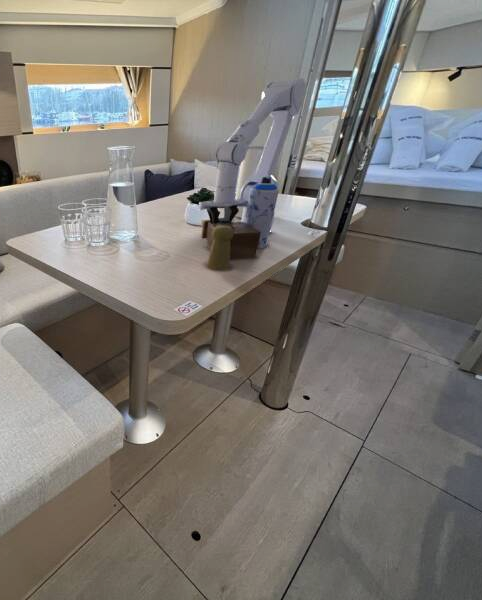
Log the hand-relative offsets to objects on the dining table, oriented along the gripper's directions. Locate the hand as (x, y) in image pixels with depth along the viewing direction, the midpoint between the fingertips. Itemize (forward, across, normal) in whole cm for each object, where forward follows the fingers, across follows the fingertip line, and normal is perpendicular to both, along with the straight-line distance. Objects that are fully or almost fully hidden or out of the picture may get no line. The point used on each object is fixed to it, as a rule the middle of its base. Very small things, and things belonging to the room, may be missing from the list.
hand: (219, 230), depth 101 cm
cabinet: (+4, 0, -9) cm, 10 cm away
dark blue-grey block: (-1, 0, 0) cm, 1 cm away
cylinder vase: (+4, +24, +28) cm, 37 cm away
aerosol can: (+4, +10, -4) cm, 11 cm away
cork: (+4, -8, -18) cm, 20 cm away
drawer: (+3, 0, +1) cm, 3 cm away
